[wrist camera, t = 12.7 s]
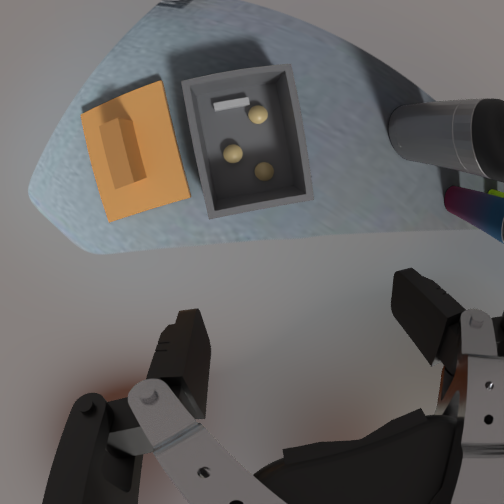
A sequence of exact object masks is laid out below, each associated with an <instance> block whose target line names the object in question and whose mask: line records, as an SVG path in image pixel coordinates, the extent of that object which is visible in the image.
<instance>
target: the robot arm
mask: <svg viewBox="0 0 504 504" xmlns="http://www.w3.org/2000/svg"><path fill="white" fill-rule="evenodd" d="M388 128H389V137H390V140H391V143H392V146H393V147H394V149H395V151H396V152H397V153H398V154H399V155H400V156H401V157H402V158H404V159H406V160H409V161H414V162H420V163H425V164H430V165H435V166H440V167H445V168H449V169H454V170H458V171H462V172H466V173H470V174H475V175H478V176H482V177H486V178H489V179H493V180H496V181H500V182H503V183H504V101H503V100H500V99H466V100H450V101H437V102H427V103H418V104H410V105H403V106H400V107H398V108H397V109H396V110H395V111H394V112H393V113H392V115H391V117H390V120H389V127H388ZM391 310H392V313H393V316H394V317H395V318H396V320H397V321H398V322H399V324H400V325H401V326H402V327H403V329H404V330H405V331H406V333H407V334H408V335H409V337H410V338H411V339H412V341H413V342H414V343H415V345H416V346H417V347H418V349H419V350H420V351H421V353H422V354H423V355H424V357H425V358H426V360H427V361H428V362H429V364H430V365H431V367H432V366H434V365H436V364H439V363H441V362H442V363H443V364H444V366H443V368H442V371H441V379H440V387H439V394H438V400H437V406H436V410H435V413H434V415H427V416H425V414H424V413H423V411H422V409H421V408H420V409H418V410H415V411H413V412H411V413H408V414H406V415H404V416H401V417H399V418H396V419H394V420H391V421H390V422H388V423H387V424H385V425H384V426H382V427H381V428H379V429H378V430H376V431H374V432H372V433H371V434H369V435H367V436H366V437H364V438H362V439H360V440H351V441H334V442H318V443H313V444H308V445H304V446H299V447H293V448H287V449H283V455H284V458H281V459H279V460H277V461H274V462H272V463H270V464H268V465H267V466H265V467H263V468H262V469H260V470H259V471H258V472H256V473H255V474H254V475H252V474H251V473H250V472H248V471H247V470H246V469H245V468H244V467H243V466H242V465H241V464H240V463H239V462H238V461H236V459H234V457H233V456H232V455H230V453H228V451H227V450H226V449H225V448H224V447H222V445H221V444H220V443H219V442H218V441H217V440H216V439H215V438H214V437H213V436H212V435H211V434H210V433H209V431H208V430H207V429H206V428H205V427H204V426H203V425H202V424H201V423H198V422H196V420H195V419H205V416H206V415H205V414H206V403H207V392H208V380H209V369H210V359H211V346H210V340H209V337H208V334H207V331H206V328H205V325H204V322H203V319H202V316H201V313H200V310H199V309H190V310H183V311H179V313H178V316H177V319H176V323H175V324H172V325H168V326H167V327H166V328H165V330H164V331H163V332H162V333H161V335H160V338H159V341H158V345H157V347H156V350H155V351H156V352H155V353H154V356H153V359H152V362H151V365H150V368H149V371H148V374H147V378H146V380H143V381H141V382H139V383H138V384H136V385H135V386H134V387H133V388H132V389H131V391H130V392H129V395H128V397H127V398H123V399H119V400H114V401H110V402H107V401H106V400H105V399H104V398H103V396H101V395H100V394H97V393H88V394H85V395H83V396H81V397H80V398H79V399H78V400H77V401H76V402H75V403H74V405H73V407H72V409H71V412H70V414H69V417H68V420H67V422H66V425H65V428H64V431H63V433H62V436H61V439H60V442H59V445H58V448H57V451H56V455H55V458H54V461H53V464H52V468H51V471H50V475H49V478H48V482H47V486H46V490H45V494H44V498H43V503H42V504H138V494H139V485H140V476H141V468H142V460H143V454H145V453H150V452H153V453H154V455H155V457H156V458H157V460H158V462H159V463H160V465H161V466H162V468H163V469H164V471H165V472H166V474H167V475H168V476H169V478H170V479H171V481H172V482H173V483H174V485H175V486H176V487H177V489H178V490H179V491H180V493H181V494H182V495H183V497H184V498H185V499H186V500H187V501H188V503H189V504H504V312H503V315H502V316H501V317H495V318H491V317H490V316H489V315H488V314H487V313H485V312H484V311H482V310H479V309H468V310H466V309H464V308H463V307H462V306H461V305H460V304H459V303H458V302H457V301H456V300H455V299H454V298H452V297H451V296H450V295H449V294H447V293H446V291H444V290H443V289H441V287H440V286H439V285H438V284H436V283H435V282H434V281H433V280H430V279H428V278H426V277H424V276H421V275H420V274H419V273H418V272H417V271H415V270H414V269H413V268H408V269H404V270H400V271H396V272H395V274H394V279H393V289H392V298H391Z"/></svg>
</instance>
